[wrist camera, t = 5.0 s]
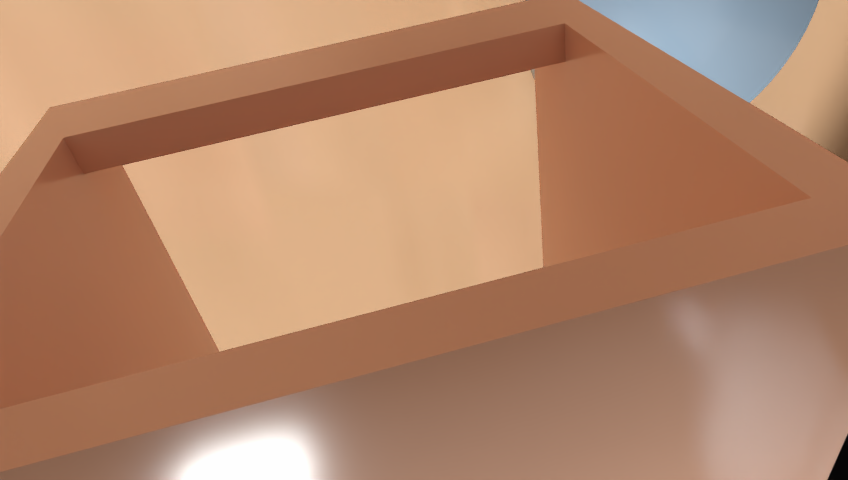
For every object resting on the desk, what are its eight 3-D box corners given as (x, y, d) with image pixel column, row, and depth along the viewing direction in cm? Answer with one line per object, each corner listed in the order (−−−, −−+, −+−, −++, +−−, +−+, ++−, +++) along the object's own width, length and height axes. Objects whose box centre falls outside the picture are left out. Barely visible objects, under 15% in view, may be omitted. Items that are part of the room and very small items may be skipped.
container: (565, -8, 9) (943, 219, 4) (569, 342, 13) (748, 656, 8) (49, 107, 8) (-279, 546, 3) (233, 432, 12) (212, 828, 8)
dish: (855, -169, 19) (887, -168, 18) (741, 130, 24) (760, 144, 23) (552, -189, 17) (570, -190, 16) (505, 143, 22) (516, 158, 21)
